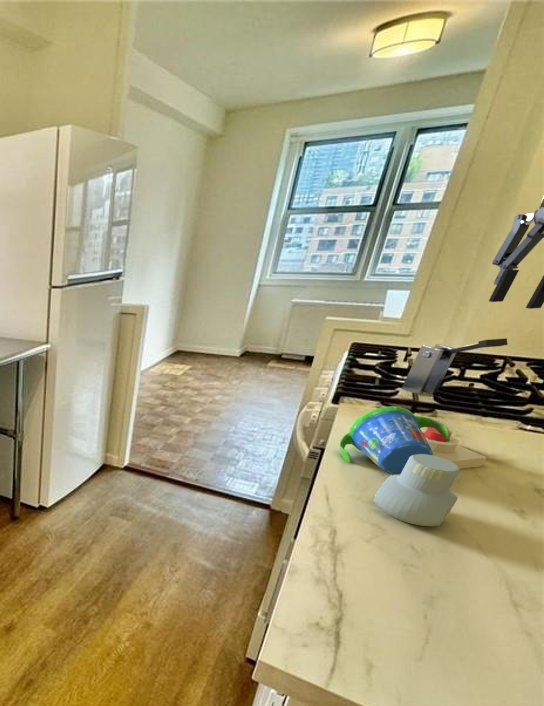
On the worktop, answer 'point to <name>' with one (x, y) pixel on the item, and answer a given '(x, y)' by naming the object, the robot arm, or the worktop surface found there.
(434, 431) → the button
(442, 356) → the dark gray lever
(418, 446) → the snack cup
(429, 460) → the air freshener
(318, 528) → the worktop surface
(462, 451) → the button housing
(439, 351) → the lever bracket
